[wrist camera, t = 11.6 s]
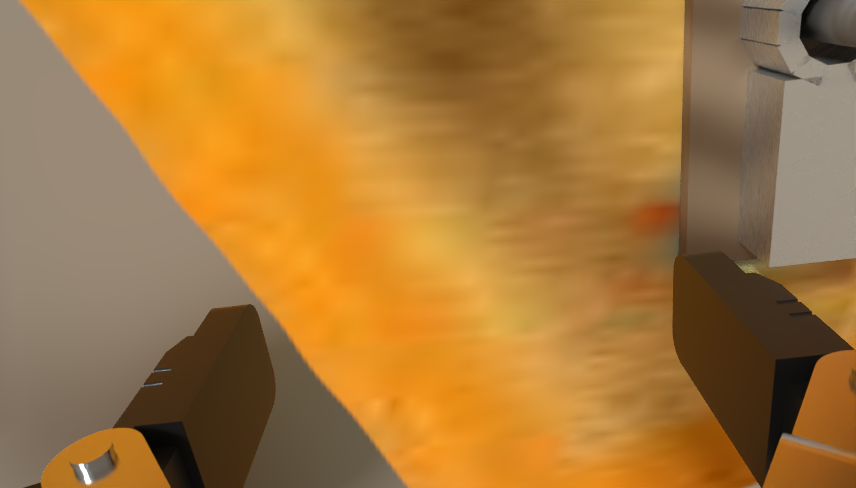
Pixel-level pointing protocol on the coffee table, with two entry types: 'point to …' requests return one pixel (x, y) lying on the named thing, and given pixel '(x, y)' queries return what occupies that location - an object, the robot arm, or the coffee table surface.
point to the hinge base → (728, 113)
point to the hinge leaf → (796, 141)
